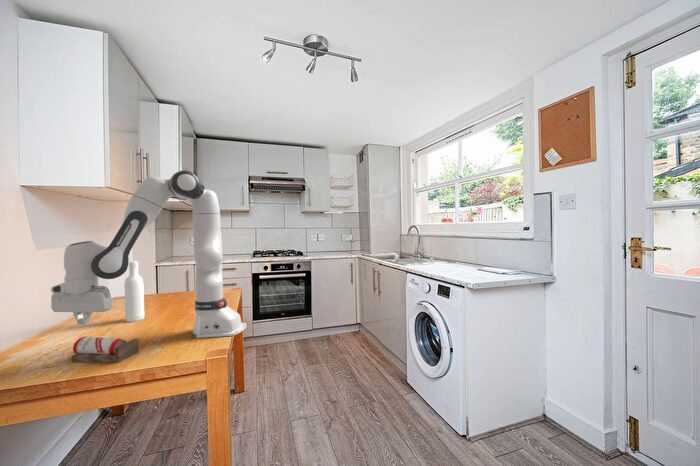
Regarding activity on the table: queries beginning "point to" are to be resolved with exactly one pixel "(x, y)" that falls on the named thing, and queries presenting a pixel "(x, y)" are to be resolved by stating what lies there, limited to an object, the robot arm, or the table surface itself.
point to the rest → (120, 355)
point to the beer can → (97, 345)
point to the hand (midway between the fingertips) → (83, 323)
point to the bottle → (134, 294)
